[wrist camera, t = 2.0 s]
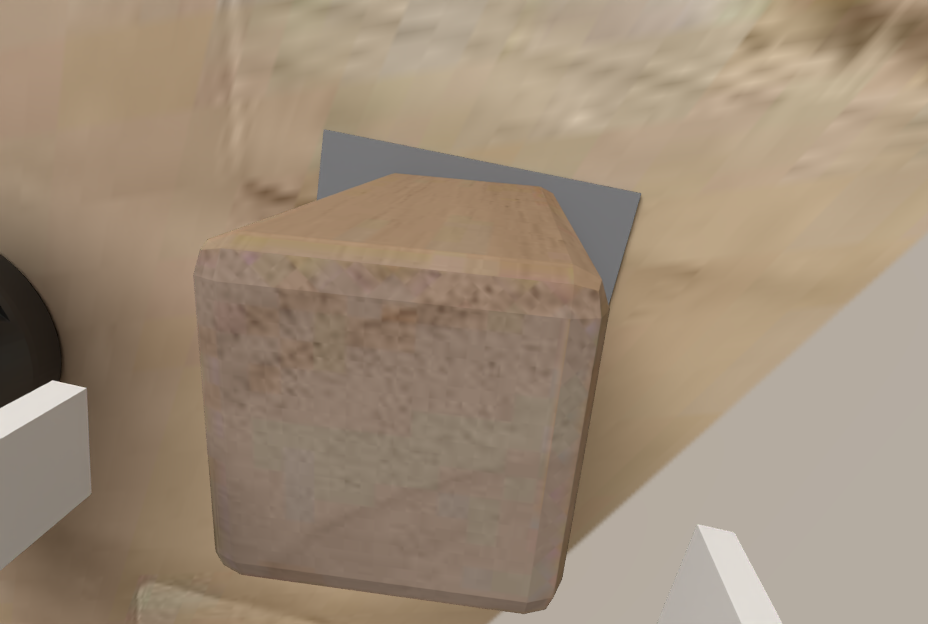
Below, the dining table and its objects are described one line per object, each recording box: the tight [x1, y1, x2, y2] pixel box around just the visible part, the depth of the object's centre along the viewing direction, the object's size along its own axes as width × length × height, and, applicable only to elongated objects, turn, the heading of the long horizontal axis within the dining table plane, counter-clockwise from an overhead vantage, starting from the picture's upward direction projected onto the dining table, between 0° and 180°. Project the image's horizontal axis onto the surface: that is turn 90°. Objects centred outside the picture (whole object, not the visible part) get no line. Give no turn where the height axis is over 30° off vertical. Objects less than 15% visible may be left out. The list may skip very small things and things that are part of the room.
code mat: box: [317, 130, 641, 305], centre depth 33 cm, size 18×12×1 cm, turn 79°
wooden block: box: [193, 173, 610, 614], centre depth 23 cm, size 10×10×20 cm
